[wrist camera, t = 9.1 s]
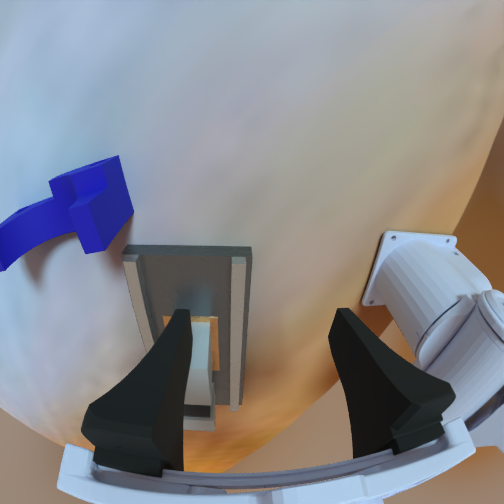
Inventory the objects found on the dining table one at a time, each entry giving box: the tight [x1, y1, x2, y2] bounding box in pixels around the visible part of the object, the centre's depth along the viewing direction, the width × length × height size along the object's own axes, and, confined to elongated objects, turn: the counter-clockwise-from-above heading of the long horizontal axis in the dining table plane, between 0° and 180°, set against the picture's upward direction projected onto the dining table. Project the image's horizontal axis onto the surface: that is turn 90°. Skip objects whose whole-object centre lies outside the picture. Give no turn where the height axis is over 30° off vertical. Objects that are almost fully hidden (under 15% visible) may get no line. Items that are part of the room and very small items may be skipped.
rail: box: [121, 245, 252, 411], centre depth 26 cm, size 10×22×2 cm, turn 177°
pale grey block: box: [184, 322, 213, 405], centre depth 23 cm, size 4×6×5 cm, turn 177°
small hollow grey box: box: [183, 383, 215, 431], centre depth 27 cm, size 4×3×5 cm
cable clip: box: [0, 155, 134, 272], centre depth 16 cm, size 12×4×6 cm, turn 98°
